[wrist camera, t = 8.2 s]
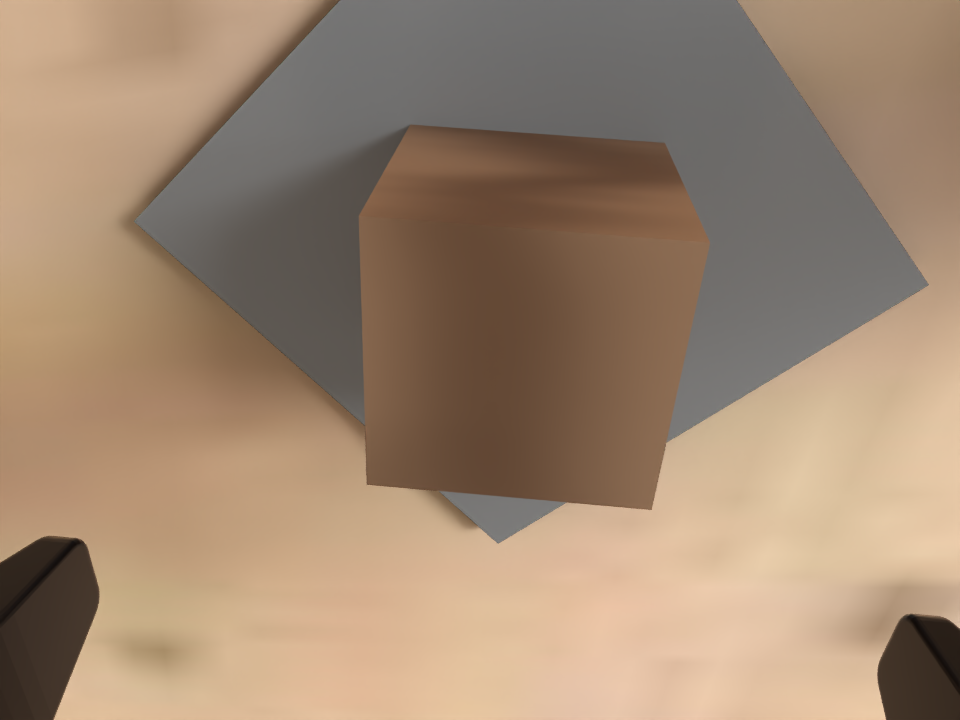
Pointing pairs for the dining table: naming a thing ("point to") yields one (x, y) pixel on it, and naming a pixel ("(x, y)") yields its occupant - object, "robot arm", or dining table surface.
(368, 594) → the dining table surface
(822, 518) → the dining table surface
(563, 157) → the walnut cube
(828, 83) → the dining table surface
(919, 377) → the dining table surface
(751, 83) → the plate
